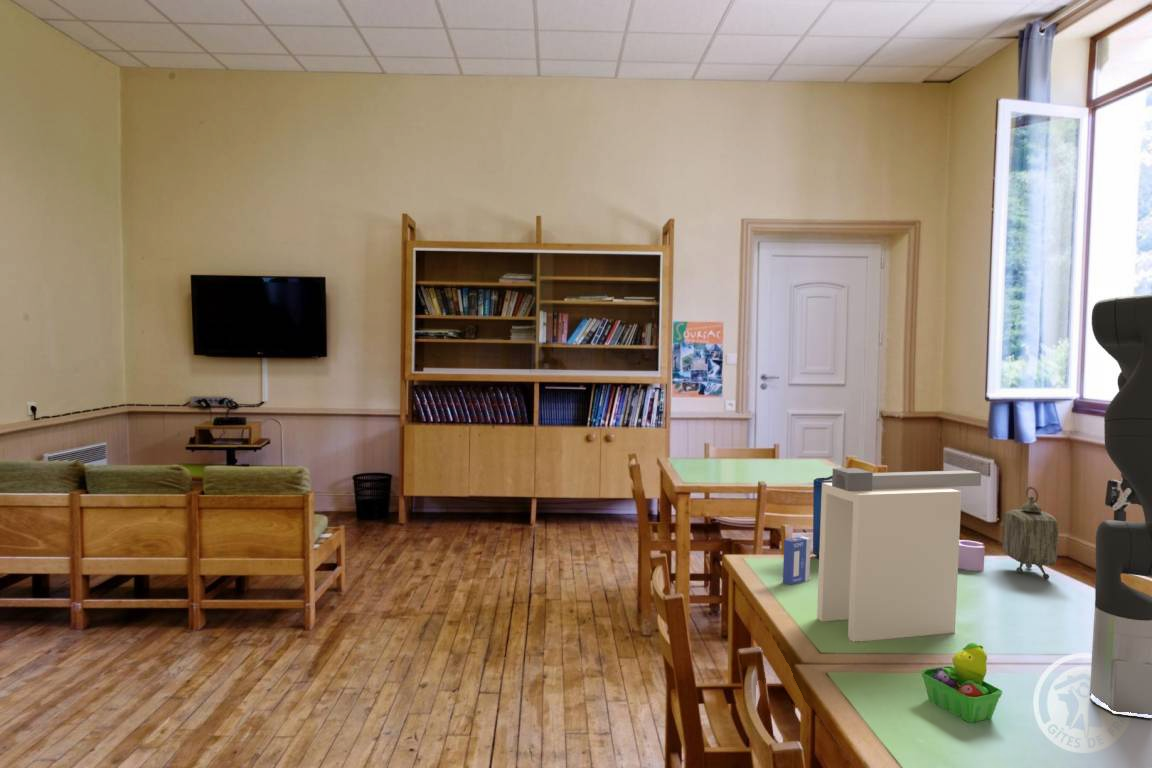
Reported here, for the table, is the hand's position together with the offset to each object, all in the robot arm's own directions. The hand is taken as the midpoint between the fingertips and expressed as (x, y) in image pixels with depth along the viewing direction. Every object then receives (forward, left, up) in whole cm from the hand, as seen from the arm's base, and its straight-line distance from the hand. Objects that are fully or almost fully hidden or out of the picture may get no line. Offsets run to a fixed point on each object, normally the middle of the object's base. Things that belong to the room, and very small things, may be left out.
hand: (1138, 532), depth 161 cm
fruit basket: (-46, +44, -25) cm, 68 cm away
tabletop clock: (+49, +7, -25) cm, 55 cm away
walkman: (+19, +71, -25) cm, 77 cm away
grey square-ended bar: (-6, +48, +8) cm, 49 cm away
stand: (-8, +52, -24) cm, 58 cm away
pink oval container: (+52, +28, -25) cm, 64 cm away
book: (+49, +56, -25) cm, 78 cm away
